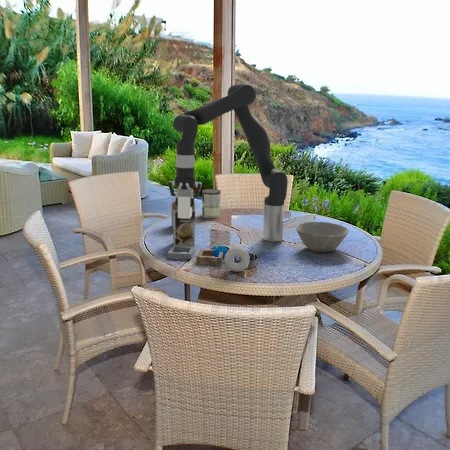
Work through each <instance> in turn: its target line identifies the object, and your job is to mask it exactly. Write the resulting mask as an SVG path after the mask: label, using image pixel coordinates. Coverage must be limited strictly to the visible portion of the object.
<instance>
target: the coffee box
mask: <svg viewBox="0 0 450 450" xmlns="http://www.w3.org/2000/svg"><path fill="white" fill-rule="evenodd" d="M195 228H196V210H195V211H194V210H193V209H192V216H191V218H190V219H189V218H178V209H173V227H172V243H173V246H191V247H195V246H194V245H195V243H196V241H195V239H196V238H195V237H196V234H195V233H196V229H195Z"/></svg>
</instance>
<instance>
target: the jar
mask: <svg viewBox="0 0 450 450" xmlns="http://www.w3.org/2000/svg"><path fill="white" fill-rule="evenodd" d="M195 203H196V202H195V201H194V206H193V207H192V209H193V210H194V211H195V212H196V204H195ZM173 209H178V207H177V205H176V198H175V197H174V200H173V201H172V202H171V227H172V228H173Z"/></svg>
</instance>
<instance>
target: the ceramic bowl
mask: <svg viewBox="0 0 450 450" xmlns="http://www.w3.org/2000/svg"><path fill="white" fill-rule="evenodd" d="M296 232H297V234H298V237H299V238H300V240H301V241H302V244H304V246H305V247H306V248H307V249H308V250H310V251H312V252H315V253H329V252H333V251H335V250H336V249H337V248H338V247H339V246H340V244H341V243H342V242H343V241H344V239H346V237H347V235H348V234H349V232H350V229H349V228H348V227H346V226H343V225H341V224H337V223H333V222H326V221H309V222H303V223H300V224H298V225H297V226H296Z"/></svg>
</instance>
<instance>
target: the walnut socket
mask: <svg viewBox="0 0 450 450" xmlns="http://www.w3.org/2000/svg"><path fill="white" fill-rule="evenodd" d="M213 250H214V249H206V248H205V249H204V248H200V249H199V251H198V253H197V256H196V264H197V263H199V265H212V266H215V265H217V266H221V265H222V263H223V260H224V258H223V252H219V255H218V257H215V256H213V252H214V251H213Z"/></svg>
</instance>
